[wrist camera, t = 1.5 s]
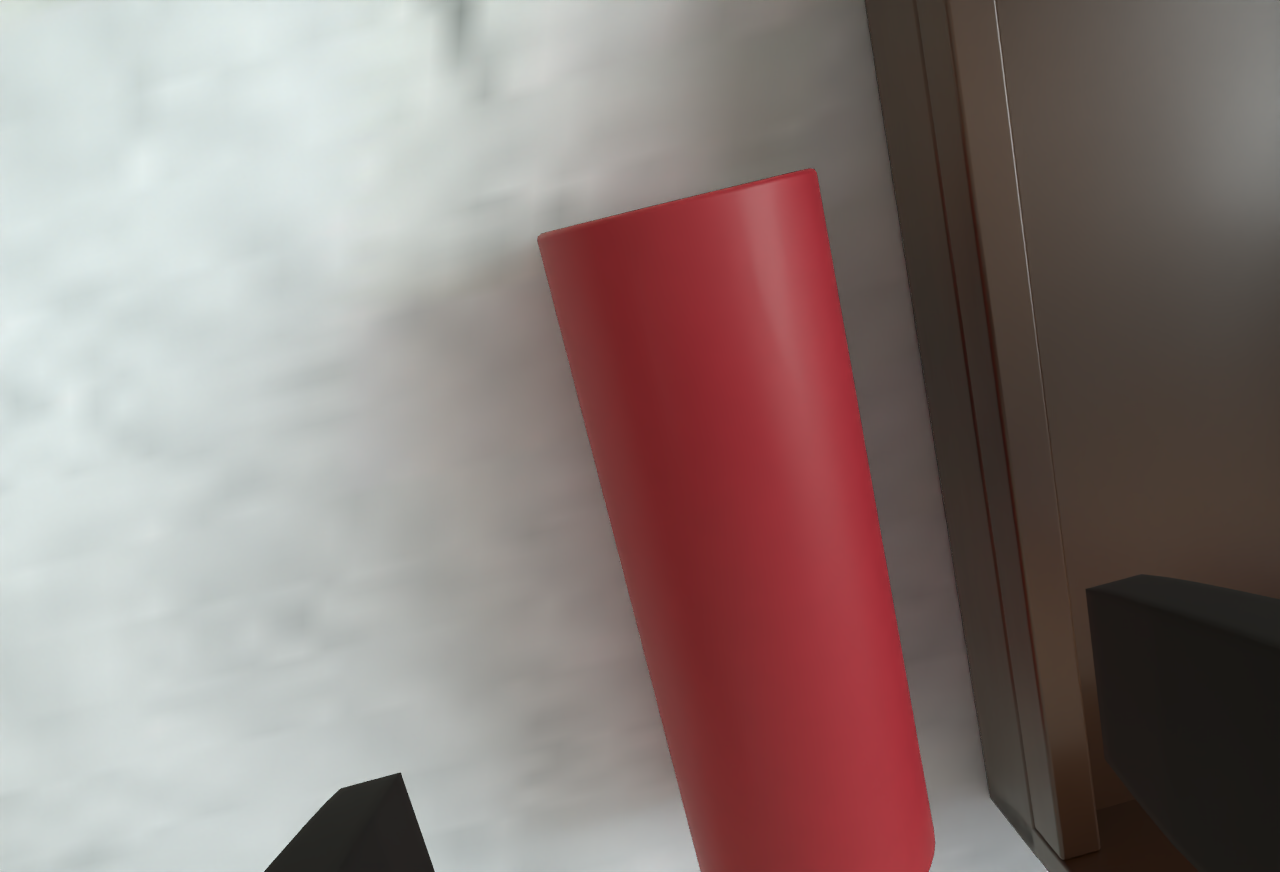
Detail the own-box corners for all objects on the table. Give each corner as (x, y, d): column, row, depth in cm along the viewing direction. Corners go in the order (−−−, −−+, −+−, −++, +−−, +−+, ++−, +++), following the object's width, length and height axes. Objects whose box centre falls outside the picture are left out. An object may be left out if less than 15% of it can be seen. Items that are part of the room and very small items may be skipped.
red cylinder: (776, 747, 19) (973, 801, 16) (653, 884, 16) (867, 980, 13) (655, 207, 17) (866, 154, 14) (478, 248, 13) (702, 193, 11)
